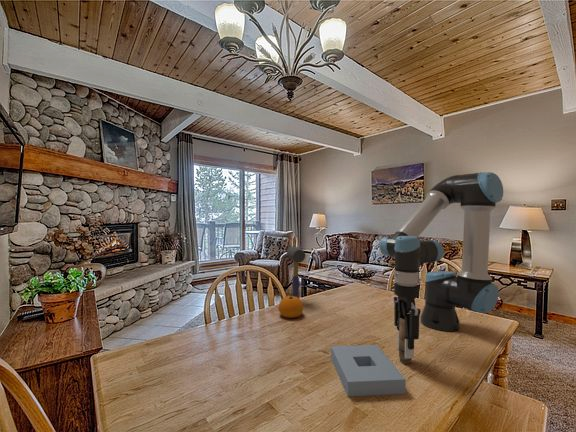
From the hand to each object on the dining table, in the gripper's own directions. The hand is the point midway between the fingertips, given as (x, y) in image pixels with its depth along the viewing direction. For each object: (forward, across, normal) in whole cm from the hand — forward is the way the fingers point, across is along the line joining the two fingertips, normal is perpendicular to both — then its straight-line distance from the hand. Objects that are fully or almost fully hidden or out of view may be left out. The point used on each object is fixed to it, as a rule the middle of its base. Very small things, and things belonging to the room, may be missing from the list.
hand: (405, 353), depth 95 cm
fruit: (+3, -44, -34) cm, 56 cm away
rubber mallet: (+3, -61, -30) cm, 68 cm away
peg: (+3, 0, 0) cm, 3 cm away
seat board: (+3, +6, -16) cm, 17 cm away
